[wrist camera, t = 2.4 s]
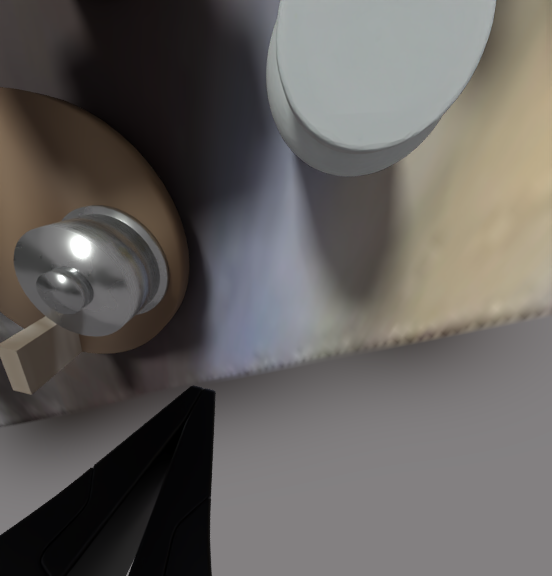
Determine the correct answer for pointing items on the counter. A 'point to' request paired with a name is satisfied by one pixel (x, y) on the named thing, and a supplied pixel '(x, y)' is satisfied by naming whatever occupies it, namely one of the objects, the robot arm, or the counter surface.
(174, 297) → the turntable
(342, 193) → the counter surface
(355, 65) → the supplement bottle
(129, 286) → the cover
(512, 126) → the counter surface
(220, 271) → the counter surface
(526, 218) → the counter surface
